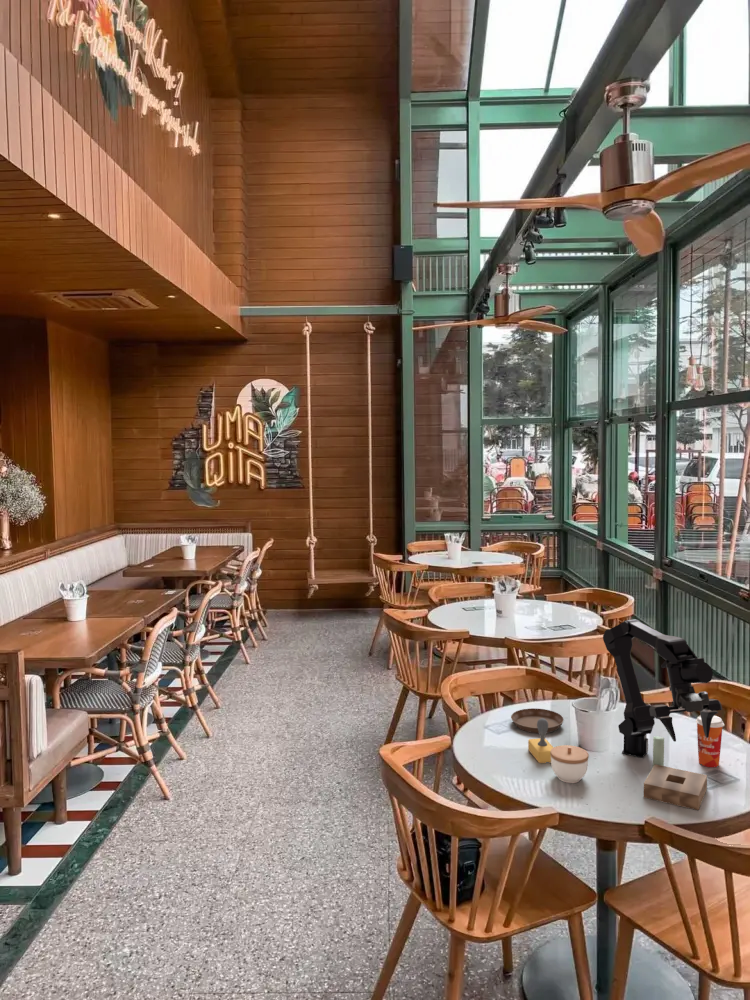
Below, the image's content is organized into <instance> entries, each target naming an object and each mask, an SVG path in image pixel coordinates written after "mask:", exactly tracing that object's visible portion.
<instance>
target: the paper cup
mask: <svg viewBox="0 0 750 1000" xmlns="http://www.w3.org/2000/svg"><path fill="white" fill-rule="evenodd" d="M695 723H696V731H697V732H696V733H697V735H696V736H697V753H698V754H697V756H698V763H699V765H701V764H702V765H701V766H703V767H706V768H717V766H718V767H719V766H720V760H721V759H720V758H721V747H722V737H723V727H725V723H724V721H723V719H722V718H721V717H719V716H717V715H714V716H713V718H712V721H711V725H710V731H709V737H708V738H706V737H705V734H704V730H703V725H702V719H701V714H700V715H699V716H697V718H696V719H695Z"/></svg>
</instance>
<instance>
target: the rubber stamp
mask: <svg viewBox="0 0 750 1000" xmlns="http://www.w3.org/2000/svg"><path fill="white" fill-rule="evenodd" d="M537 728H538V731H539V733H538V734H539V737H540V738H529V739H528V740H527V741H528V742H527V744H528V746H527V750H528V751H529V752H530V754H531V755H532V757H534V758H535V759H536V761H537V762H538V763H539V764H547V763H546V762H549V763H551V755H550V751H551V749H552V748H554V747H555V746H553V745H552V743H550V742H549V741H548V740H547V738H546V734H548V733H547V730H548V722H547V720H546V719H544V718H541V719H539V720H538V722H537Z"/></svg>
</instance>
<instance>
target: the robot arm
mask: <svg viewBox="0 0 750 1000" xmlns="http://www.w3.org/2000/svg"><path fill="white" fill-rule="evenodd" d="M635 638H636V639H638V640H640V641H641V642H643V643H646V644H647V645H649V646H651V647H652V648H653V649H655V652H656V654H657V655H659V656H660V657H662V659H664V662H663V663H662V664H661V668H663V669H664V668H665V669H666V670H667V675H668V676H667V677H668V681H669V687H668V689H669V691H670V692H671V697H672V701H671V706H669V705H666V704H655V705H651V704H649V705H647V704H646V702H645V701H643V698H642V694H641V690H640V685H639V681H638V678H637V675H636V672H635V668H634V664H633V660H632V657H631V653H632V649H633V640H634V639H635ZM602 639H603V640H602V641H603V643H604V646H605V648H606V650H607V651H608V653H609V654H610V655H611V656H612V657H613V658H614V662H615V665H616V669H617V674H618V677H619V680H620V685H621V689H622V692H623V696H624V700H625V707H624V711H623V718H624V720H623V721H622V722H620V723H619V724H618V731H619V733H620V734H622V735H623V749H622V751H621V754H623V755H629V756H633V757H637V758H644V757H645V756H646V755H647V753H649V738H647V735H648V734H649V735H650V734H652V732H653V729H654V726H655V723H656V722H655V719H656V720H659V721H660V722H661V723H662V725H663V726H664V727H665V730H666V731H667V733H668V735H669V736H670V738H671V739H672V740H673V742H677V738H676V732H675V728H674V726H673V725H674V724H673V717H671V716H670V714H674V713H682V712H687V713H693V712H699V714H700V715H701V719H702V725H703V730H704V734H705V737H706V738H708V737H709V731H710V725H711V721H712V718H713V716H716V715H717V714H718V713H719V711H723V707H722V703H721V701H720V700H719V699H714V698H710V697H709V695H708V692H707V691H699V692H698V693H696V690H695V687H694V686H693V685H692V684H709V683H710V682H711V681H712V679H713V677H714V676H713V675H714V673H713V669H712V668H711V666H710V664H708V663H707V662H705V659H704V657H698V656H697V655H696V653H694V651H693V650H692V648H691V647H690V646H689V644H688V642H687V641H686V640H685V639H684V638H683V637H679V636H675V635H667V634H664V633H661V632H660V631H658V630H656V629H654V628H653V627H650V626H648V625H647V624H644V623H643V622H641V621H640V620H639V619H635V618H634V619H625V620H624V621H622V622H620V624H618V625H616V626H613V627H611V628H607V629H606V630H605V631H604V633H603V634H602Z"/></svg>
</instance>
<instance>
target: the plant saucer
mask: <svg viewBox="0 0 750 1000" xmlns="http://www.w3.org/2000/svg"><path fill="white" fill-rule="evenodd" d="M541 718H544V719H546V720H547V722H548V730H547V733H546V734H548V733H552V732H555V731H556V730H558V729H559V728H560V727H561V726H562V725H563V723H564V721H565V720H564V716H563V715H562V714H560V713H558V712H556V711H554V710H550V709H544V708H537V707H536V708H523V709H519V710H516V711H514V712H513V713H512V714H511V715H510V719H511V720H512V722H513V724H514V725H515V726H516V727H517V728H519V729H520V730H521V731H524V732H526V733H527V732H528V733H531V734H533V733H534V734H539V731H538V728H537V722H538V720H539V719H541Z"/></svg>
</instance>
